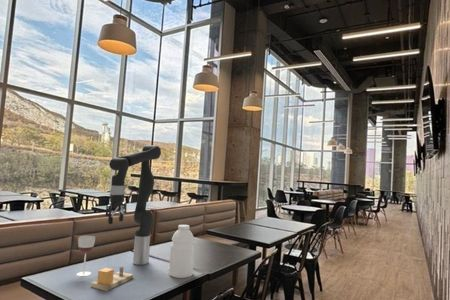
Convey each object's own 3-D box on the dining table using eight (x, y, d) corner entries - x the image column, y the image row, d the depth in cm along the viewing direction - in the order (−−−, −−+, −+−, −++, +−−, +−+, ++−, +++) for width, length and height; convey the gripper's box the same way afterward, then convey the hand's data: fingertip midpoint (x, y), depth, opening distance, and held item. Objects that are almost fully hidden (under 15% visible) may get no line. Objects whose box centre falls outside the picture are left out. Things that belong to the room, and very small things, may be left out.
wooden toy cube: (104, 279, 158) (105, 267, 159) (112, 281, 156) (113, 269, 157) (97, 282, 153) (98, 270, 154) (105, 284, 152) (106, 272, 152)
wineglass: (75, 271, 172) (79, 235, 174) (92, 270, 175) (95, 235, 177) (74, 276, 165) (77, 239, 166) (92, 275, 168) (95, 238, 169)
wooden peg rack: (118, 274, 171) (119, 263, 172) (133, 278, 168) (133, 267, 168) (90, 286, 153) (91, 274, 153) (106, 290, 149) (107, 278, 150)
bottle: (176, 280, 169) (179, 228, 171) (164, 272, 179) (167, 224, 181) (197, 275, 178) (200, 226, 179) (184, 268, 188) (187, 222, 190)
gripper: (120, 192, 180) (118, 219, 180) (103, 194, 167) (101, 224, 166) (131, 193, 178) (129, 221, 177) (114, 195, 164) (112, 225, 164)
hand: (115, 222), depth 172 cm, fingers open, 8 cm apart
